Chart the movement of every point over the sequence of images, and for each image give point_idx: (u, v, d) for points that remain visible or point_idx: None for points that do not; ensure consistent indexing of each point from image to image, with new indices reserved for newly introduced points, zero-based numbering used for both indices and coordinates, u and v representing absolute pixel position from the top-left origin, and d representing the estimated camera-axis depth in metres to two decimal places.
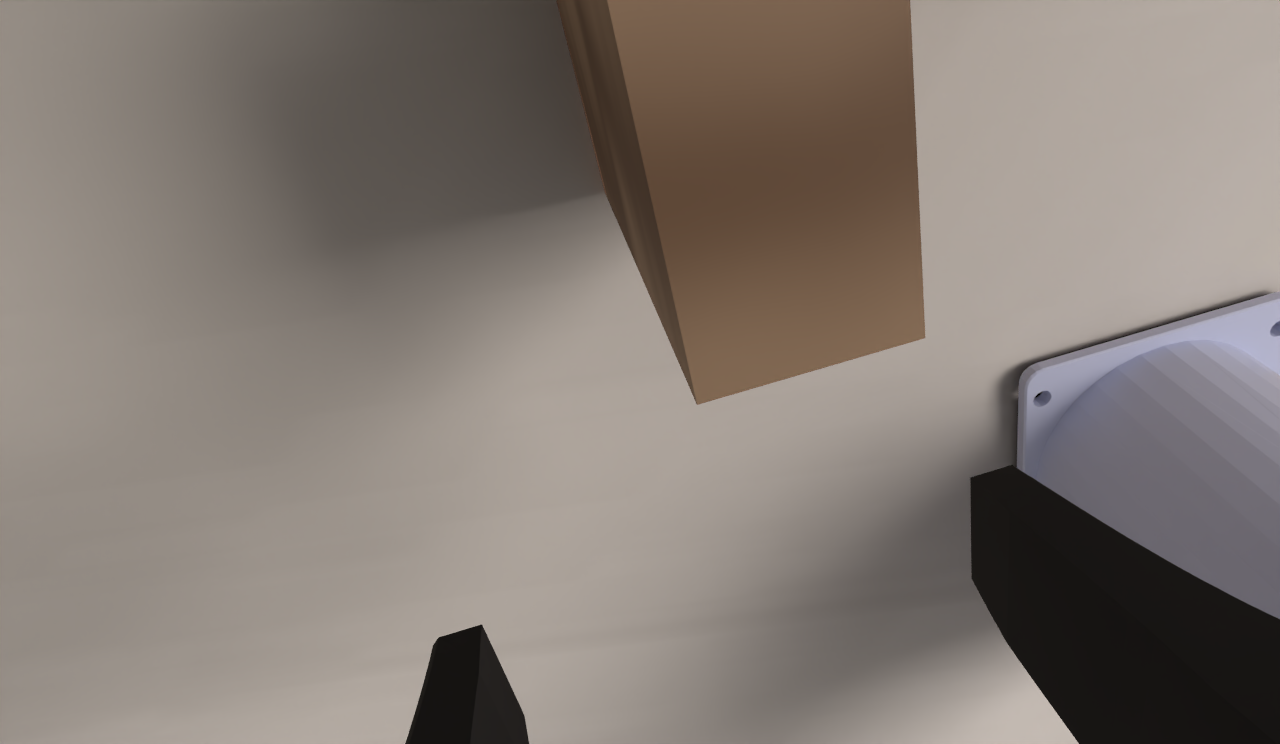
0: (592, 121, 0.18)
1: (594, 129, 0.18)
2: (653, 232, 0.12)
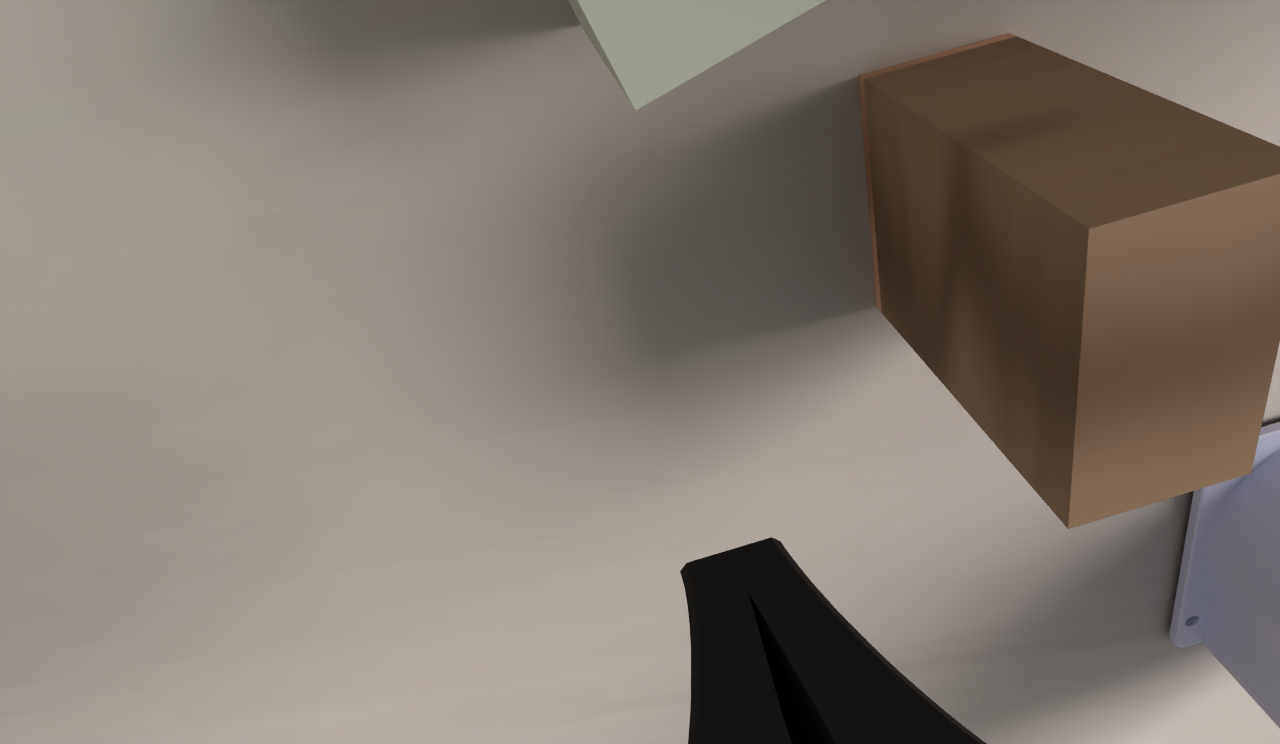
0: (898, 260, 0.21)
1: (899, 266, 0.21)
2: (1054, 397, 0.16)
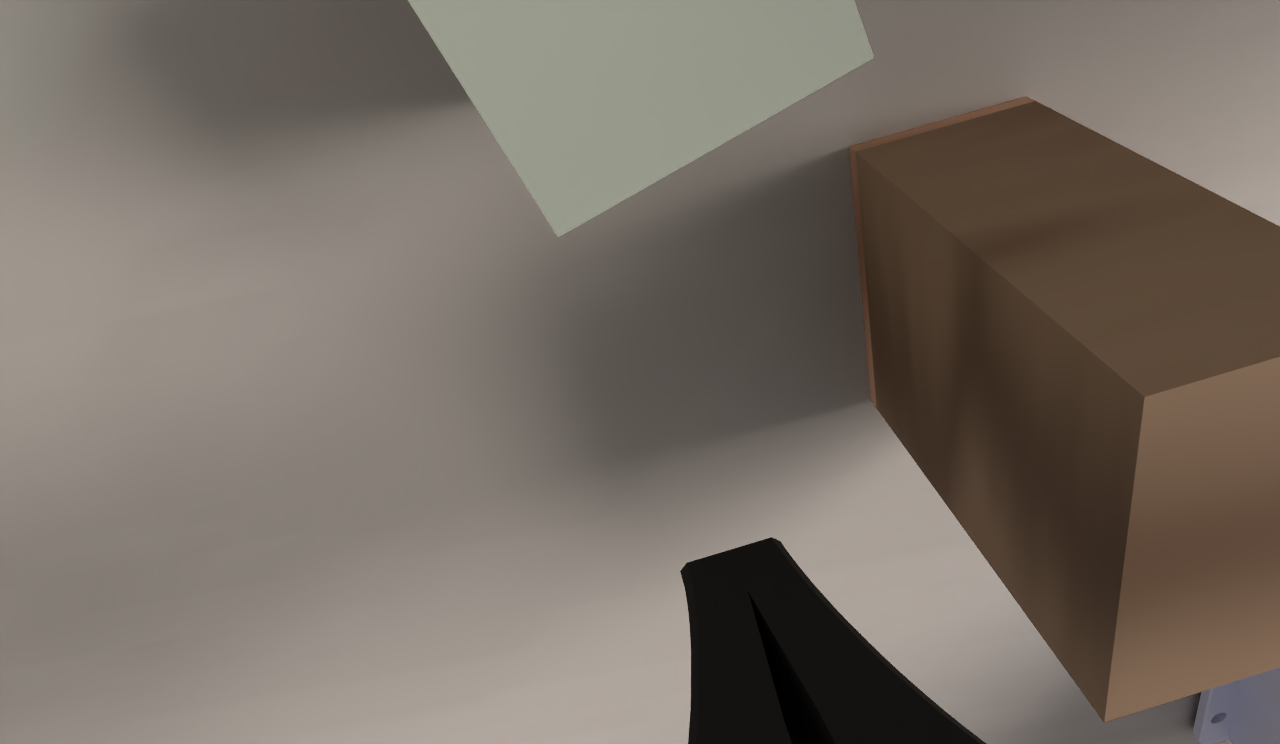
0: (896, 359, 0.18)
1: (896, 366, 0.18)
2: (1089, 572, 0.13)
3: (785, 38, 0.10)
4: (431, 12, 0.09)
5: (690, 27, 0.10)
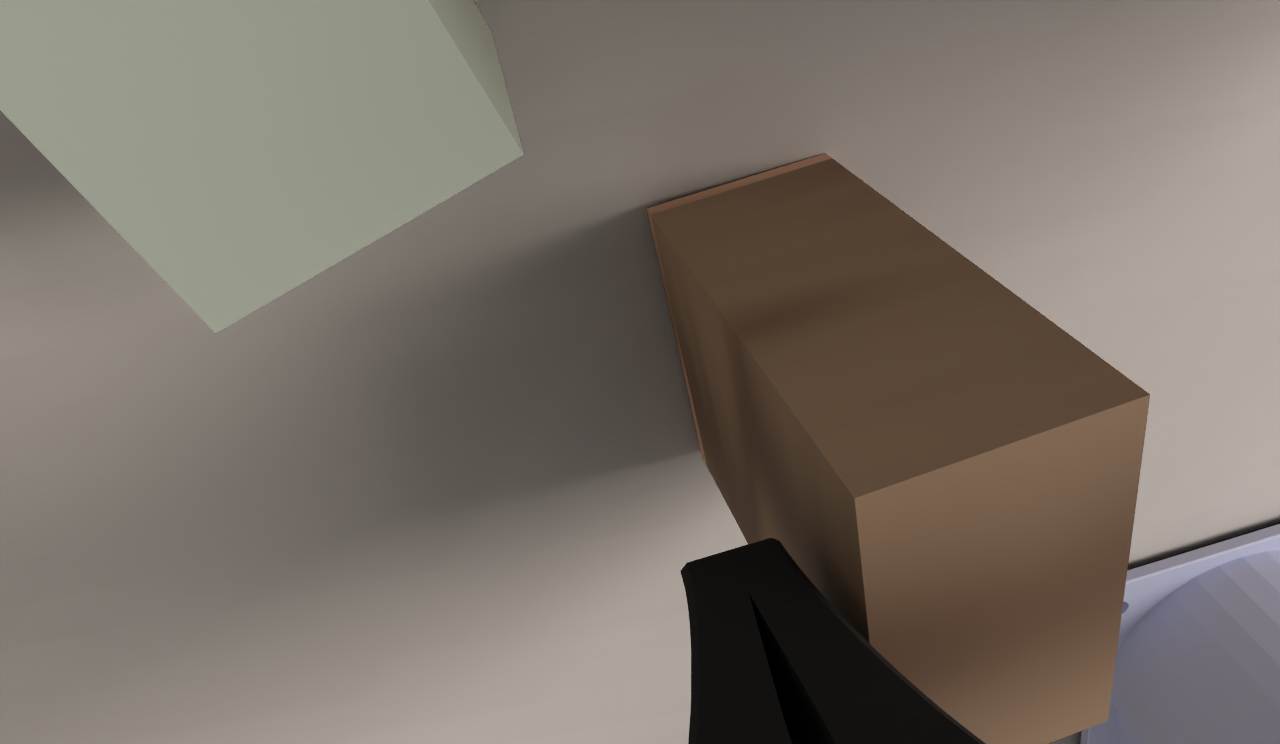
0: (709, 421, 0.18)
1: (710, 428, 0.18)
2: None
3: (422, 138, 0.10)
4: (28, 120, 0.09)
5: (315, 129, 0.09)
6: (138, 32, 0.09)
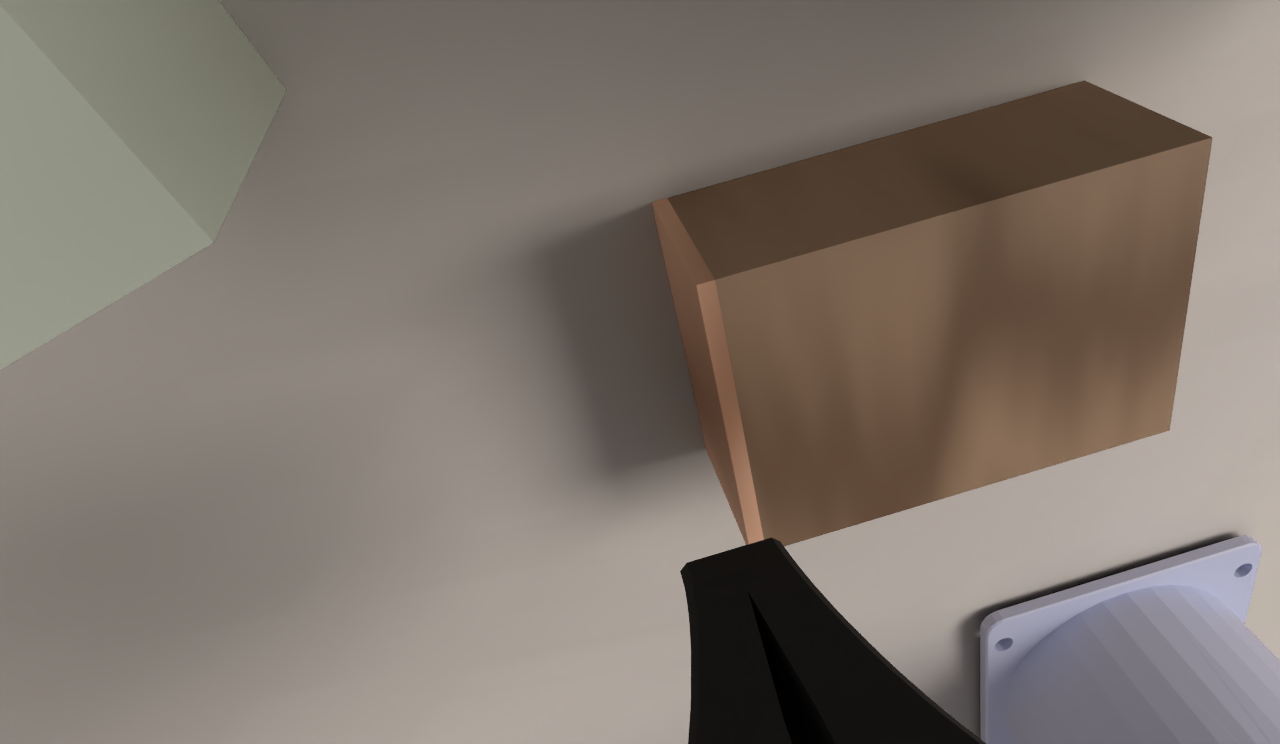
0: (820, 446, 0.16)
1: (821, 453, 0.16)
2: (1152, 330, 0.16)
3: (101, 228, 0.09)
4: None
5: None
6: None
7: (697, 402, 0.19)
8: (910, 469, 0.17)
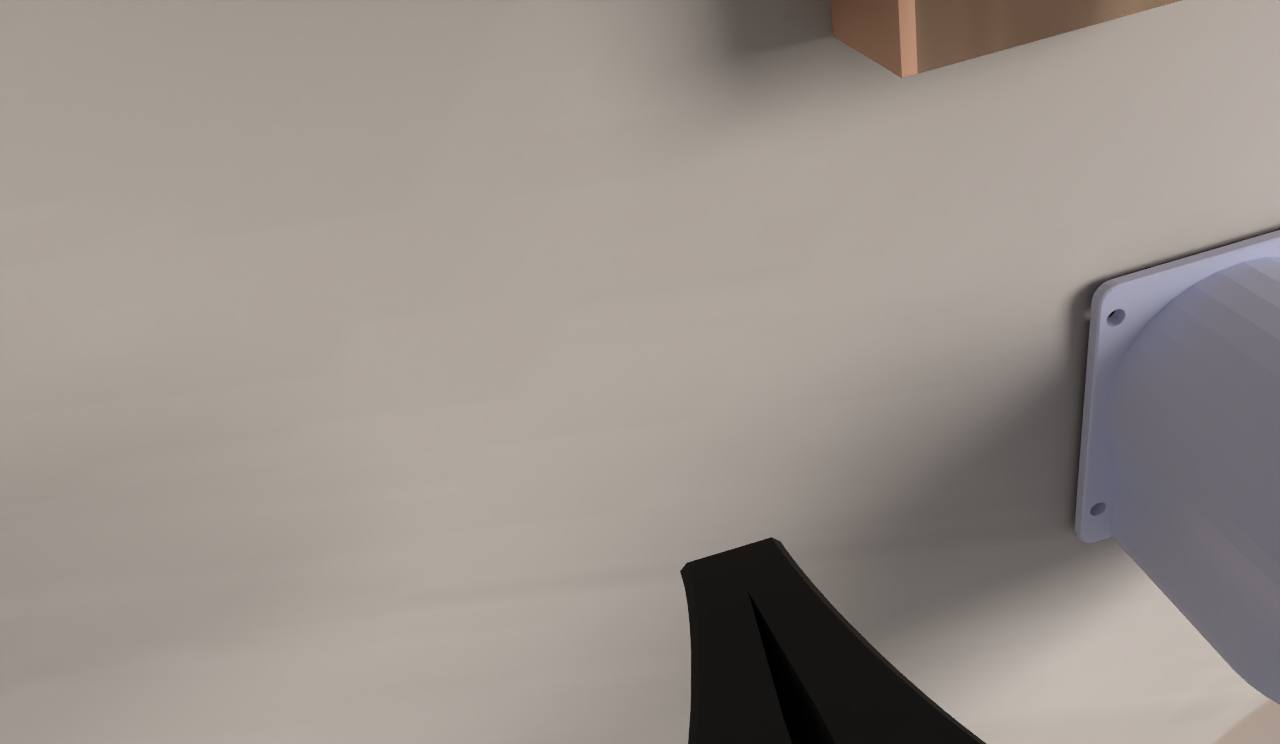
0: None
1: None
2: None
3: None
4: None
5: None
6: None
7: None
8: None
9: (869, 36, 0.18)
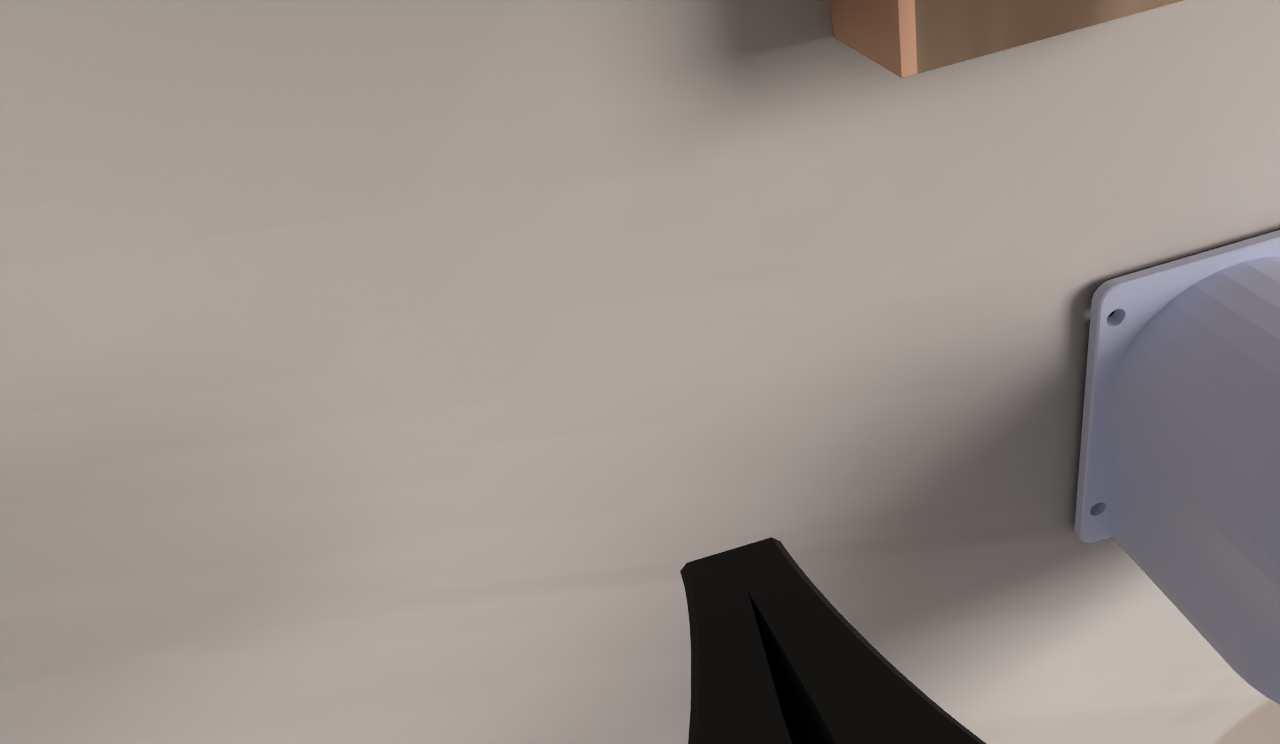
0: None
1: None
2: None
3: None
4: None
5: None
6: None
7: None
8: None
9: (869, 36, 0.18)
